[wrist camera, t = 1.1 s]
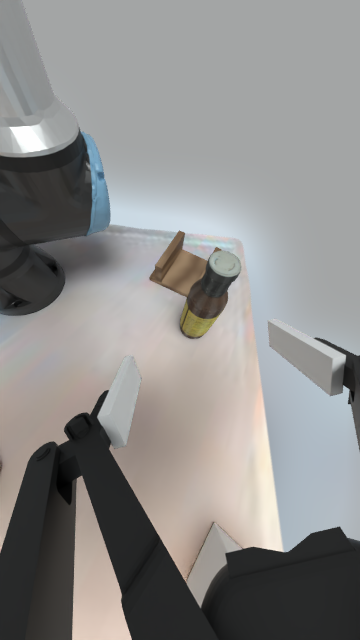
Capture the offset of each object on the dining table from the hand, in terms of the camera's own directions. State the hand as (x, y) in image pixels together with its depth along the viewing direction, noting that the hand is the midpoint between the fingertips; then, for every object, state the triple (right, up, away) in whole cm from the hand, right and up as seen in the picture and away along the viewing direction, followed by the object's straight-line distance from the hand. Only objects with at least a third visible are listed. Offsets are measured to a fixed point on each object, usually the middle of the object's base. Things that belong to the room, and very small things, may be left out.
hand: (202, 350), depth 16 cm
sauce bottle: (+1, +2, +22) cm, 22 cm away
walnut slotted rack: (-1, +14, +27) cm, 30 cm away
